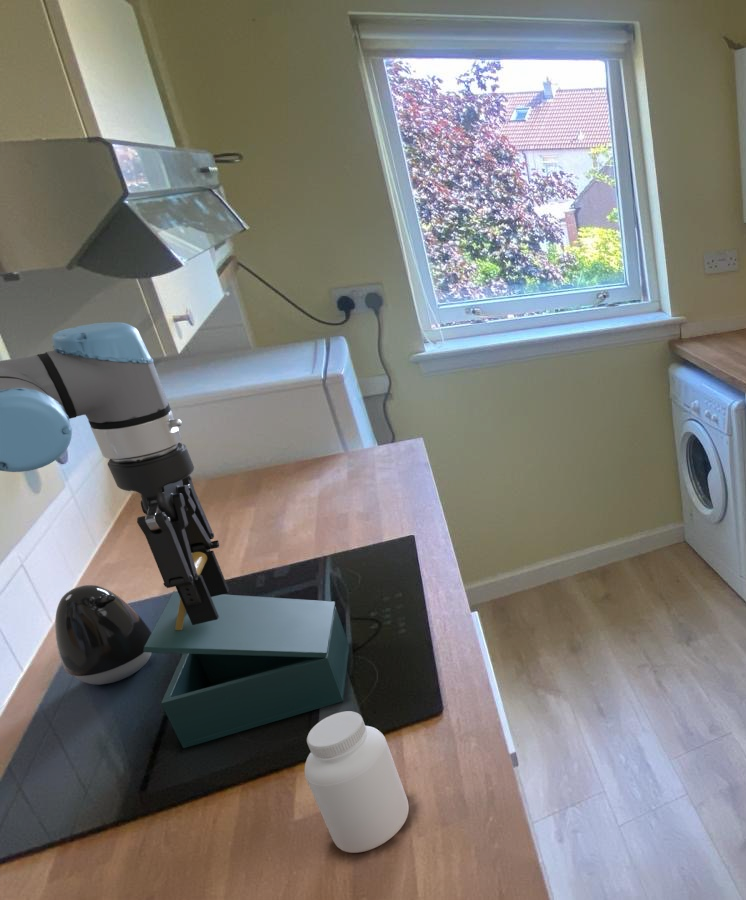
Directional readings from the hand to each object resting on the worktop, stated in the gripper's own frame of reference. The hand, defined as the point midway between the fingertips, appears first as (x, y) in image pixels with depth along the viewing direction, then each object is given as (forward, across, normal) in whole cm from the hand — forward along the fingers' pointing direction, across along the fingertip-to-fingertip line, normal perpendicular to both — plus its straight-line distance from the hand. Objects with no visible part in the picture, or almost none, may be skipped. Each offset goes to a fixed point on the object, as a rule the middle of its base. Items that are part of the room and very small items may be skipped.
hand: (211, 606), depth 99 cm
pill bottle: (+16, -32, -17) cm, 40 cm away
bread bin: (+16, 0, -3) cm, 16 cm away
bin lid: (+4, 0, -3) cm, 5 cm away
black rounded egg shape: (+16, +17, +19) cm, 30 cm away
